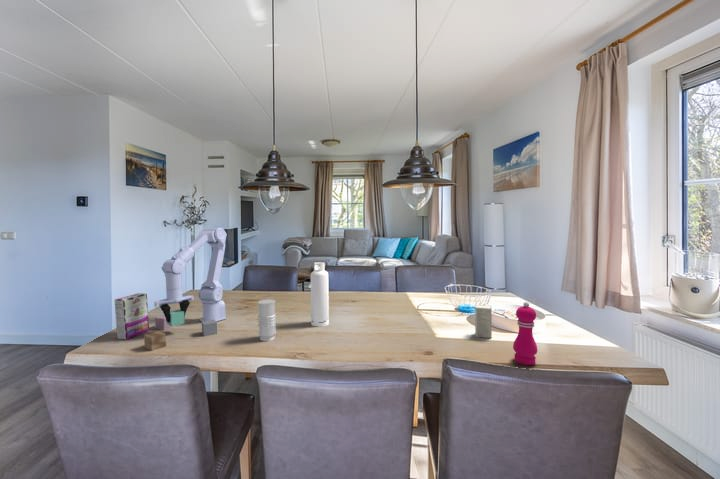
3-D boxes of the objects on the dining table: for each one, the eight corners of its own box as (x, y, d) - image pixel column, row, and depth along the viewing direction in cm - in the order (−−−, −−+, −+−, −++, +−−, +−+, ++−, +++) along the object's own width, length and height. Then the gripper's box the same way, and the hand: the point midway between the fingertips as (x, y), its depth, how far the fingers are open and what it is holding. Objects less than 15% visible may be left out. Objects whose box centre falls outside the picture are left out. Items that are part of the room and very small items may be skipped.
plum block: (165, 325, 148) (165, 314, 148) (174, 326, 146) (173, 315, 146) (155, 328, 143) (155, 317, 143) (164, 330, 142) (163, 318, 141)
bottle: (307, 325, 147) (306, 263, 145) (316, 320, 154) (316, 261, 153) (323, 327, 144) (322, 264, 142) (332, 322, 151) (331, 262, 150)
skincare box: (491, 334, 134) (491, 305, 133) (491, 338, 129) (492, 308, 129) (474, 333, 136) (475, 304, 135) (474, 336, 131) (475, 307, 131)
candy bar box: (139, 330, 142) (138, 292, 141) (149, 330, 141) (147, 293, 140) (115, 339, 131) (113, 299, 130) (126, 340, 130) (124, 299, 129)
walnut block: (158, 344, 126) (157, 331, 126) (166, 346, 123) (165, 333, 123) (144, 348, 121) (144, 335, 121) (152, 351, 119) (151, 337, 119)
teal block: (179, 320, 141) (179, 309, 140) (184, 323, 137) (184, 311, 137) (166, 323, 137) (166, 312, 136) (171, 326, 134) (171, 314, 133)
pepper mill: (514, 354, 114) (516, 298, 113) (538, 359, 110) (540, 301, 109) (510, 362, 108) (512, 302, 107) (535, 367, 104) (537, 306, 103)
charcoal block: (214, 330, 141) (214, 319, 140) (217, 334, 136) (216, 322, 136) (202, 333, 138) (201, 321, 137) (204, 336, 134) (203, 324, 133)
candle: (260, 342, 126) (259, 304, 125) (257, 337, 132) (256, 300, 132) (278, 339, 129) (277, 302, 129) (274, 334, 136) (273, 298, 135)
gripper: (158, 292, 128) (160, 326, 129) (196, 286, 139) (197, 317, 140) (151, 290, 132) (153, 322, 133) (189, 284, 144) (190, 314, 144)
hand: (175, 320), depth 137 cm, fingers closed on teal block, 5 cm apart
